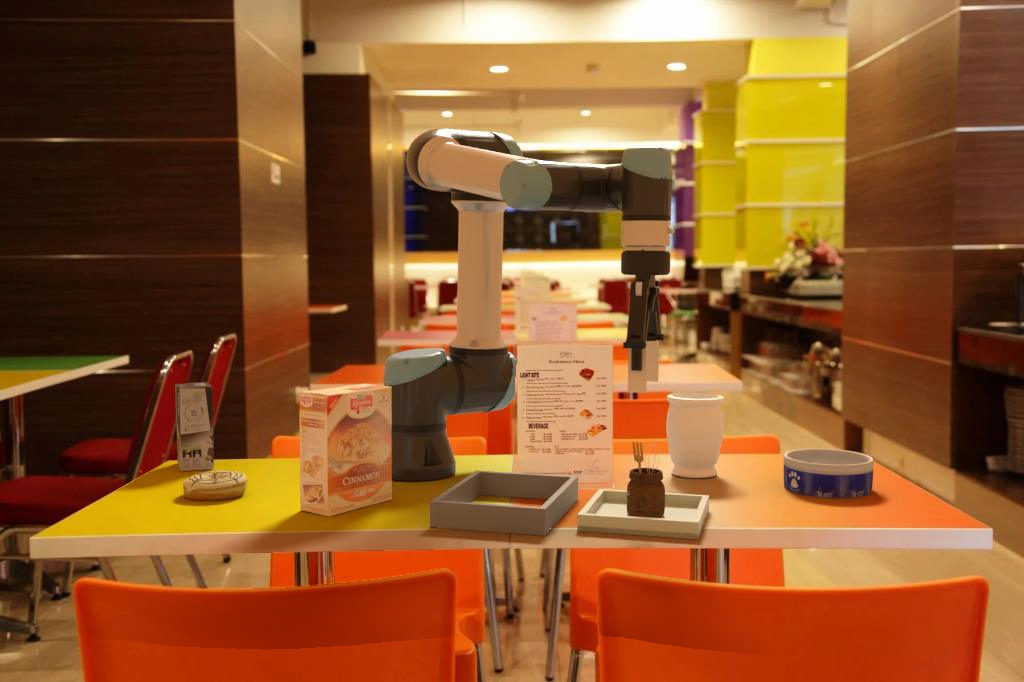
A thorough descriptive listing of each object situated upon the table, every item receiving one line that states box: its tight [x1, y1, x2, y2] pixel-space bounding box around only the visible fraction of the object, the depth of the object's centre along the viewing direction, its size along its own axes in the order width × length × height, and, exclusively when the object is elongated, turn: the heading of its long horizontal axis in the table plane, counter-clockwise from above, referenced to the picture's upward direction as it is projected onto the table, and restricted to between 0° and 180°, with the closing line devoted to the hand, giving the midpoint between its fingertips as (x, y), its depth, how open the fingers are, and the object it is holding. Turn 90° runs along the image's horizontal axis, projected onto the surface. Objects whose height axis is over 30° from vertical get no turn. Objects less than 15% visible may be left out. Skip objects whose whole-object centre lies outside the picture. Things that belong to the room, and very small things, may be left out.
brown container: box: [626, 441, 666, 518], centre depth 163 cm, size 6×6×12 cm
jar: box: [665, 392, 725, 479], centre depth 198 cm, size 11×10×15 cm
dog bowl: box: [783, 448, 875, 499], centre depth 186 cm, size 15×15×6 cm
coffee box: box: [174, 381, 215, 472], centre depth 205 cm, size 9×6×16 cm
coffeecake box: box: [298, 383, 393, 517], centre depth 173 cm, size 15×7×20 cm, turn 143°
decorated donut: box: [182, 470, 249, 502], centre depth 181 cm, size 10×11×4 cm
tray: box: [576, 488, 710, 540], centre depth 164 cm, size 18×18×2 cm
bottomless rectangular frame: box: [429, 470, 579, 537], centre depth 169 cm, size 18×24×4 cm
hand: (643, 386), depth 163 cm, fingers open, 13 cm apart
